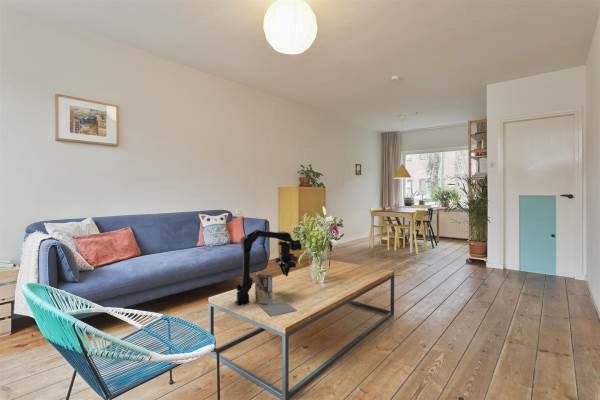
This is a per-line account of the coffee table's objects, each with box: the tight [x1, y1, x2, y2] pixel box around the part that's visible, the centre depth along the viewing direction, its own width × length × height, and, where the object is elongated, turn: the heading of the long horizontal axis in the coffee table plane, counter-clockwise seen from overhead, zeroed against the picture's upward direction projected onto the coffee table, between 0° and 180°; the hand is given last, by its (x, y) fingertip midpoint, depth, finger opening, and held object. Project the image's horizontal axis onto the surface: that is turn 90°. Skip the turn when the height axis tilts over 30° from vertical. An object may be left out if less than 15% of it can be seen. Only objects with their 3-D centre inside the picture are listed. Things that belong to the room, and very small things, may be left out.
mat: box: [259, 300, 298, 317], centre depth 173 cm, size 16×16×1 cm
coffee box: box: [254, 273, 274, 305], centre depth 184 cm, size 9×6×16 cm
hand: (285, 275), depth 194 cm, fingers open, 3 cm apart
